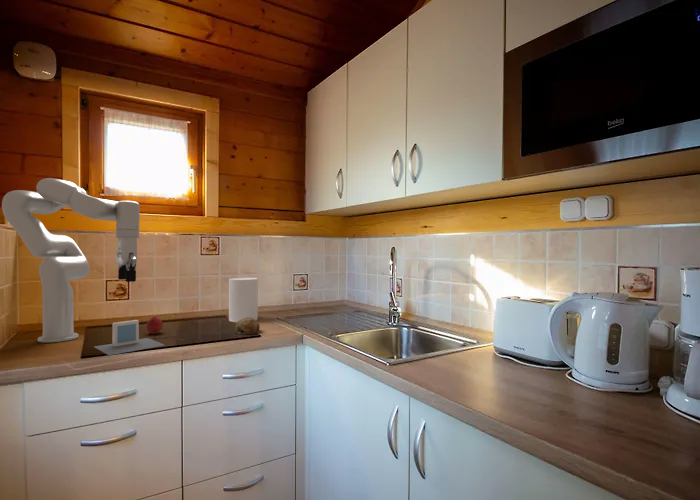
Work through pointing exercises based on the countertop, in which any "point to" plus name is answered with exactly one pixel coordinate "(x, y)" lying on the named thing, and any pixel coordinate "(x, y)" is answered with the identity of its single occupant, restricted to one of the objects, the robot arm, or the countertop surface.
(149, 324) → the onion
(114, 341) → the picture frame
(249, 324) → the bread roll
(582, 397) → the countertop surface
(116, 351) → the mat
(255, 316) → the canister
